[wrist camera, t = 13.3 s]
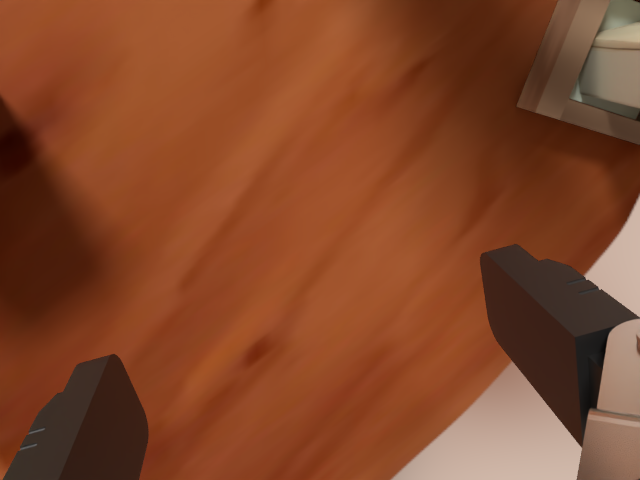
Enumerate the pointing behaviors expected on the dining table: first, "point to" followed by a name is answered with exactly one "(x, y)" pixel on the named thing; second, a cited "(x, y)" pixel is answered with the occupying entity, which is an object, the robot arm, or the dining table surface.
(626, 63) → the skincare box
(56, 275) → the dining table surface
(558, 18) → the wooden compartment tray
